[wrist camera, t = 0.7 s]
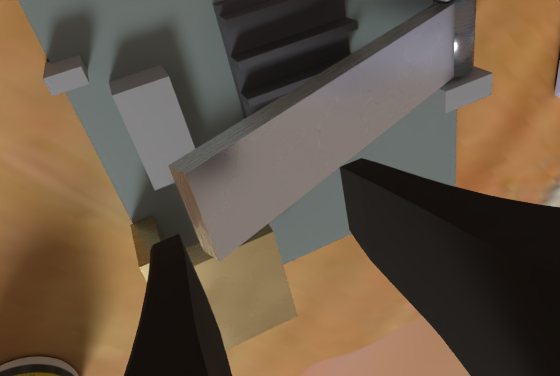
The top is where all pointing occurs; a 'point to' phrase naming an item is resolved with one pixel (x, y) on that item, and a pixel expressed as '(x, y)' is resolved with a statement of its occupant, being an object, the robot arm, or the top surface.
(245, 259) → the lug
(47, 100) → the top surface
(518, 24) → the top surface
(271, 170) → the strap
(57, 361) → the supplement bottle
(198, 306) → the robot arm
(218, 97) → the clip base
